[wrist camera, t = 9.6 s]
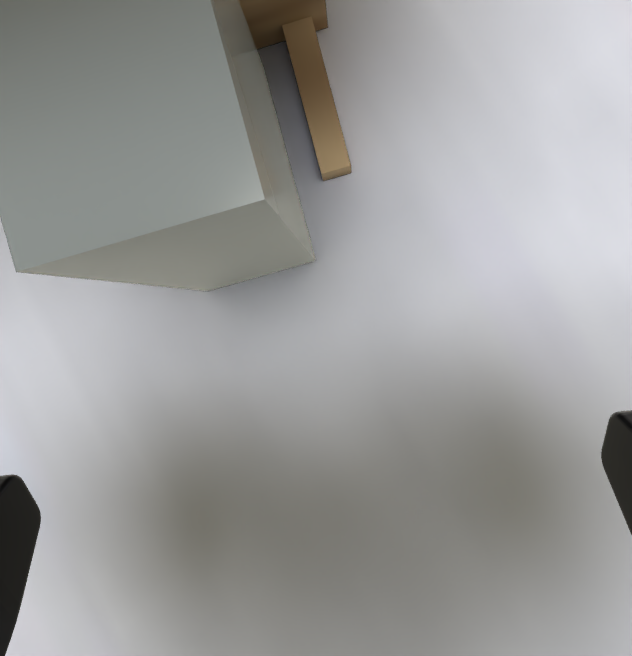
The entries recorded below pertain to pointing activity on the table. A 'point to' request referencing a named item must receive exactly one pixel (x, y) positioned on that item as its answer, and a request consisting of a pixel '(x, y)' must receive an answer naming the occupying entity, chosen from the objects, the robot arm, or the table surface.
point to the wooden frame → (304, 70)
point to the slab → (142, 145)
